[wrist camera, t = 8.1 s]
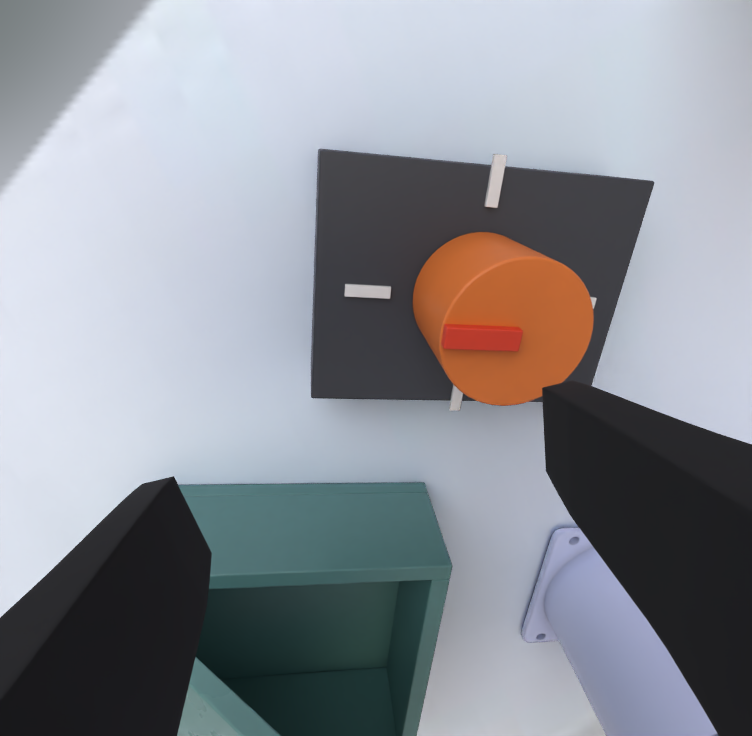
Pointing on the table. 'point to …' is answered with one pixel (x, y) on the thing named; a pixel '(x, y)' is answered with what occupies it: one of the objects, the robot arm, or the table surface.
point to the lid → (217, 709)
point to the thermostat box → (427, 234)
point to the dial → (502, 317)
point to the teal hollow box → (323, 602)
